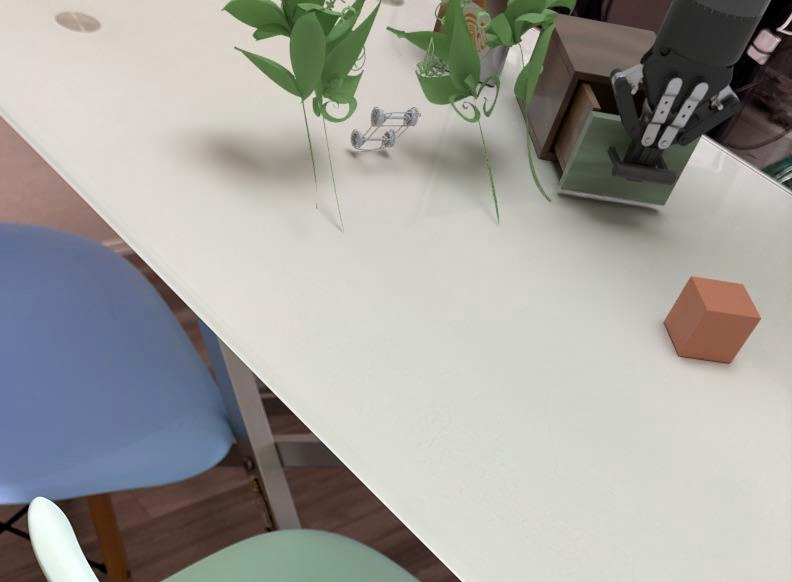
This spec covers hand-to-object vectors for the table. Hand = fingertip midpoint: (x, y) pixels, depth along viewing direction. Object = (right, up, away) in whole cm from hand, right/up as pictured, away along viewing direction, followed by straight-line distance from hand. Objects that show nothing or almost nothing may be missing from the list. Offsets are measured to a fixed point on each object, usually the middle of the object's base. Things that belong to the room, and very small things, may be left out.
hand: (632, 177), depth 98 cm
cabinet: (-1, +10, +14) cm, 18 cm away
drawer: (0, +3, +7) cm, 7 cm away
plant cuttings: (-24, 0, 0) cm, 24 cm away
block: (+2, -18, -9) cm, 21 cm away
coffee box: (-12, +21, +21) cm, 33 cm away
